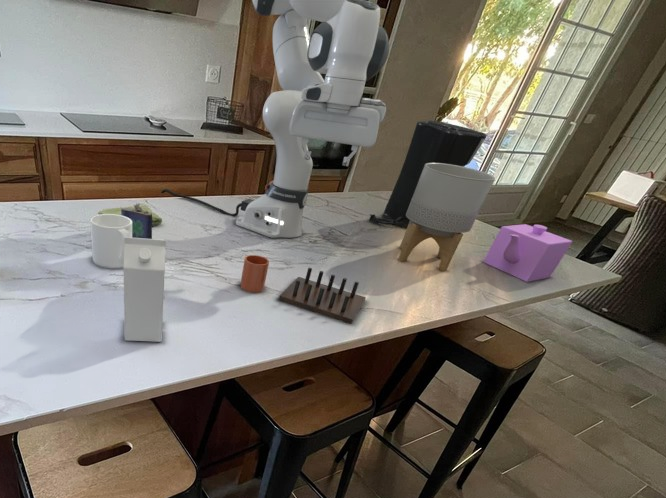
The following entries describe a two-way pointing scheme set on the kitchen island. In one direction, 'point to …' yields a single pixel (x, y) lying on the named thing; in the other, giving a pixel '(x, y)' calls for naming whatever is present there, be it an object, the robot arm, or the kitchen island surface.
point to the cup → (254, 273)
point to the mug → (109, 239)
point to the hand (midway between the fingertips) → (325, 162)
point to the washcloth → (155, 218)
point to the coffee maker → (428, 147)
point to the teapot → (527, 251)
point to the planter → (444, 208)
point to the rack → (324, 297)
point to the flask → (139, 221)
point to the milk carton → (143, 288)
